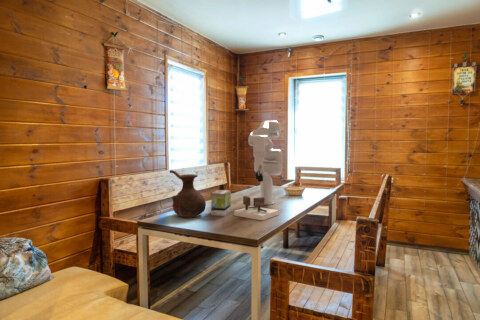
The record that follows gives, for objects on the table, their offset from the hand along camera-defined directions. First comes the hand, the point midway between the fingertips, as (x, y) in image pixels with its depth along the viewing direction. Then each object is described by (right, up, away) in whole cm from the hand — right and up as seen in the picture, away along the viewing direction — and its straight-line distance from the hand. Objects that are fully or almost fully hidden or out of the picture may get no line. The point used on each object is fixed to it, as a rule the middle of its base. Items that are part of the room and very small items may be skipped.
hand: (259, 180), depth 209 cm
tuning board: (-2, -23, -2) cm, 23 cm away
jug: (-46, -23, -3) cm, 52 cm away
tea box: (-25, -23, +4) cm, 34 cm away
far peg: (-5, -19, +1) cm, 20 cm away
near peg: (+1, -20, -6) cm, 21 cm away
